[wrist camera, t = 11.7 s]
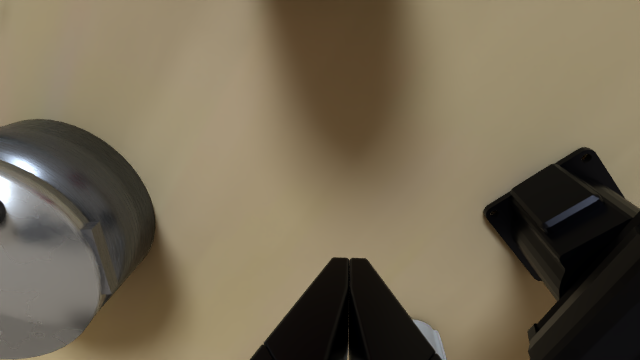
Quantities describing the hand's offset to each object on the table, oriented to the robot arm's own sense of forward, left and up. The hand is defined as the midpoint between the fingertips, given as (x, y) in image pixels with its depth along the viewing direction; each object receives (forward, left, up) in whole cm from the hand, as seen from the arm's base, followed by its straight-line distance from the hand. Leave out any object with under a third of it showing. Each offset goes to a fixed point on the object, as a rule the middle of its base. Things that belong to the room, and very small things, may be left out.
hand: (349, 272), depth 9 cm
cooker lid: (+8, +18, -7) cm, 21 cm away
